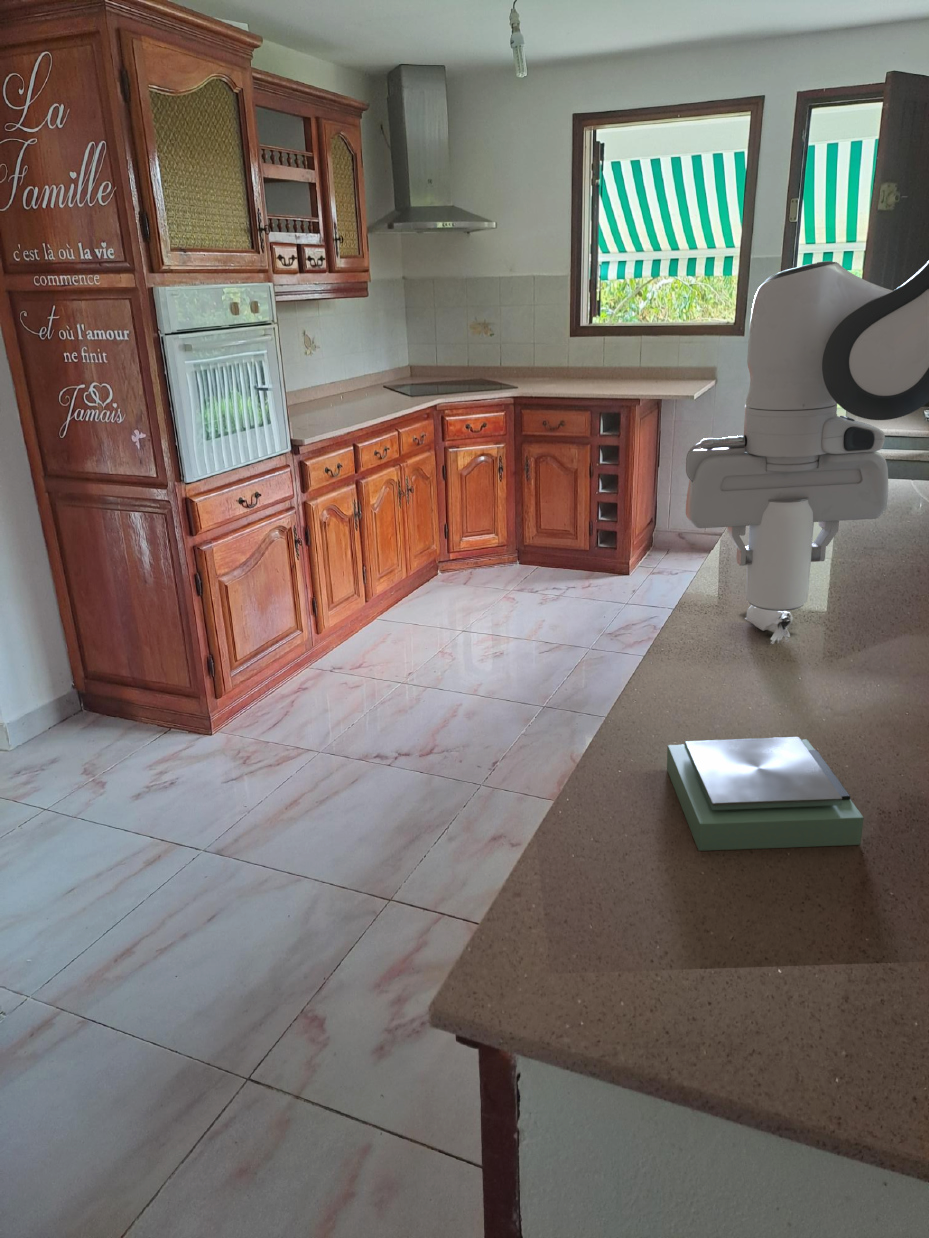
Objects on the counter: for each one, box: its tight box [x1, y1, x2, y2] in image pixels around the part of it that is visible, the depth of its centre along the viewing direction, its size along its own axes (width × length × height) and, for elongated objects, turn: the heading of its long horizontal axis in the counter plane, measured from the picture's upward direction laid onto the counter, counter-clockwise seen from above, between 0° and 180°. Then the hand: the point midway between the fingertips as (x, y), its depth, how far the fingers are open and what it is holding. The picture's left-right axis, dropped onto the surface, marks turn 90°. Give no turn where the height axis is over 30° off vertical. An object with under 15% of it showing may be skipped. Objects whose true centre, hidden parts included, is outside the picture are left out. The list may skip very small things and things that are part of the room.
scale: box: [666, 739, 864, 852], centre depth 88 cm, size 15×15×3 cm
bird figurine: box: [743, 604, 794, 645], centre depth 130 cm, size 5×7×10 cm
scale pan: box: [684, 736, 842, 810], centre depth 88 cm, size 12×12×1 cm
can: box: [745, 498, 815, 612], centre depth 95 cm, size 6×6×12 cm
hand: (780, 562), depth 95 cm, fingers closed on can, 6 cm apart
